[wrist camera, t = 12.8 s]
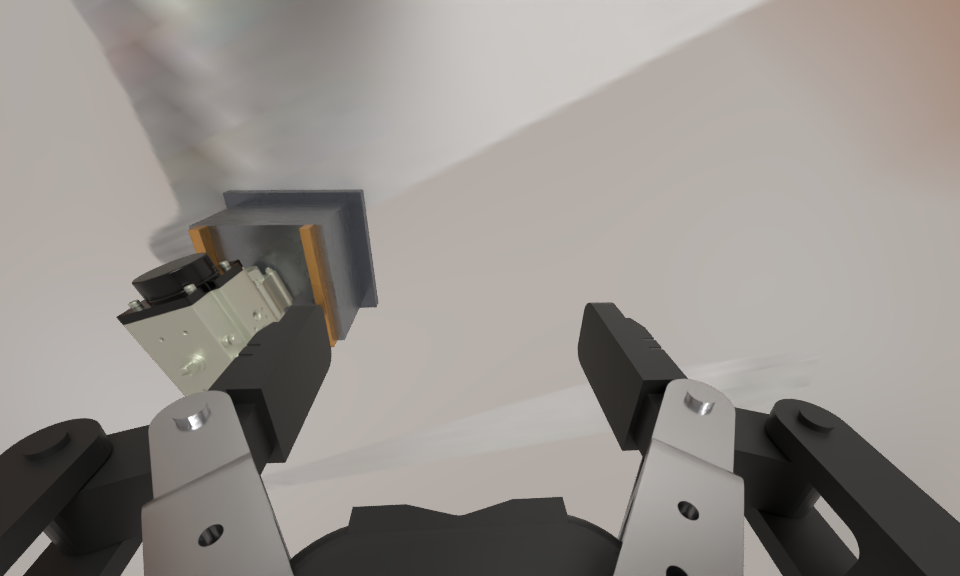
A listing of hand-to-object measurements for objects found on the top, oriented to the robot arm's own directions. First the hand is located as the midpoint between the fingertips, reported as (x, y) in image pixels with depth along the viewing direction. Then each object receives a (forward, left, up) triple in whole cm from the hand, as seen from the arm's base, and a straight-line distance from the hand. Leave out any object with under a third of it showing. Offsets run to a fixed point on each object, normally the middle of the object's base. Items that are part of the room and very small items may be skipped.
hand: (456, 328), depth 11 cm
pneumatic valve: (+9, -17, -22) cm, 29 cm away
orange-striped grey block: (+9, -17, -31) cm, 37 cm away
